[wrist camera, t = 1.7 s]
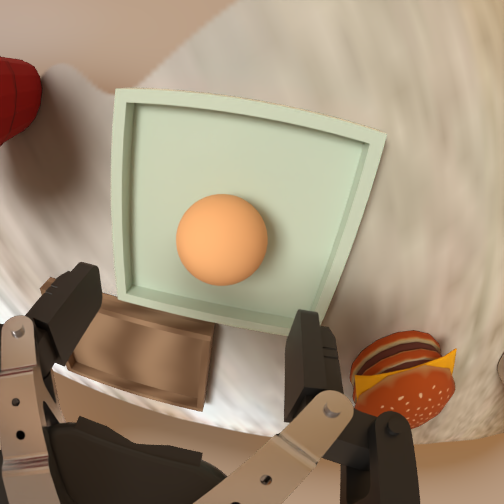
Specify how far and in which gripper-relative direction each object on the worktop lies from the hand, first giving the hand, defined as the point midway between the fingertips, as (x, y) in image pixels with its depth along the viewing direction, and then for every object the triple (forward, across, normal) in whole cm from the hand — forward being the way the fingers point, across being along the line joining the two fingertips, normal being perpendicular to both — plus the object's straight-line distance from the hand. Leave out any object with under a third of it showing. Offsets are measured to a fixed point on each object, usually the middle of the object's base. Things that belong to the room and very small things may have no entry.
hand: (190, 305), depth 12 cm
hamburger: (+9, -17, +11) cm, 23 cm away
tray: (+9, +8, +15) cm, 19 cm away
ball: (+8, 0, 0) cm, 9 cm away
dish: (+9, 0, 0) cm, 9 cm away
